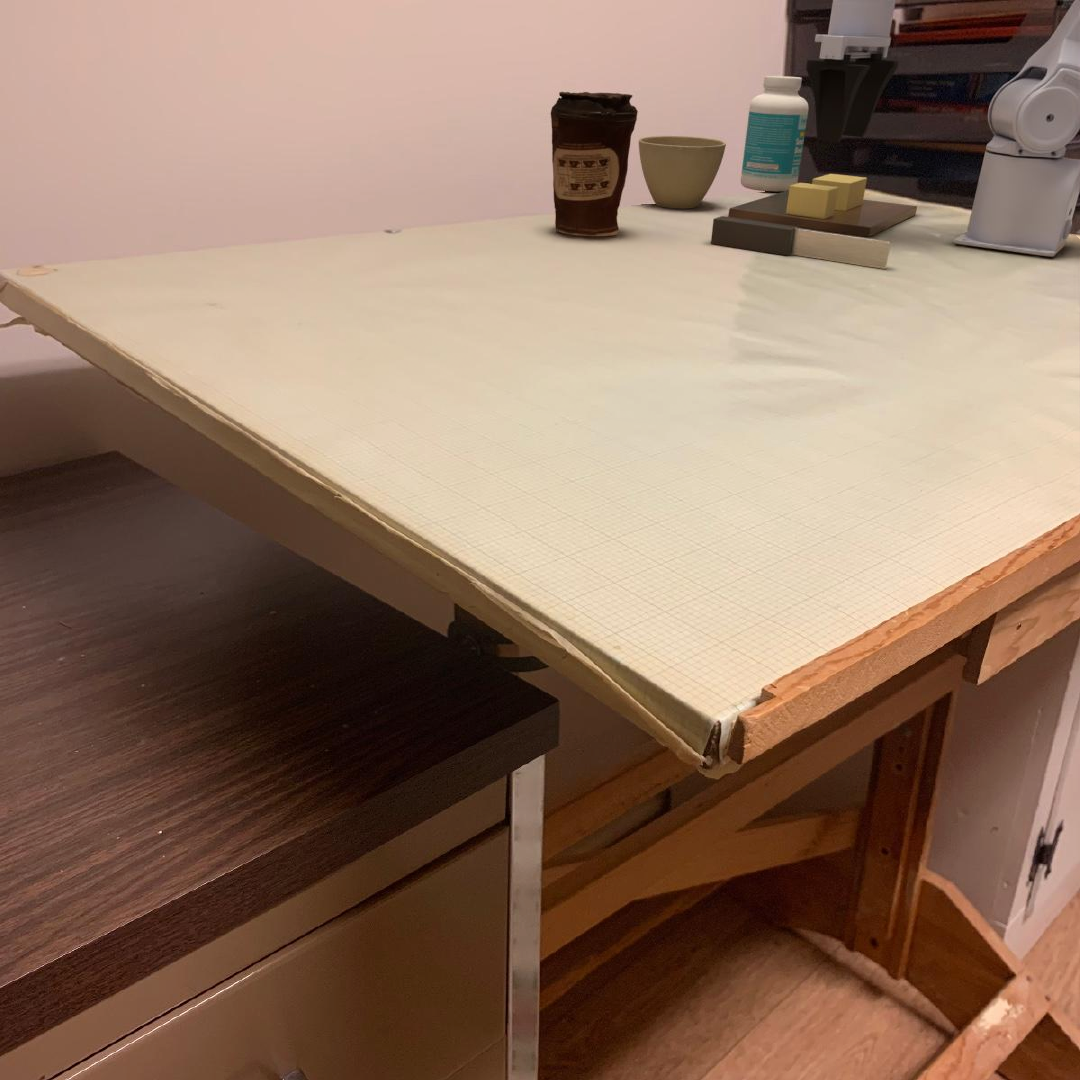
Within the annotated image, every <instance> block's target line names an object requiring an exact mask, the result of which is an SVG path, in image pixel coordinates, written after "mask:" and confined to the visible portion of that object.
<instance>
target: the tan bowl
mask: <svg viewBox="0 0 1080 1080" xmlns="http://www.w3.org/2000/svg"><path fill="white" fill-rule="evenodd" d="M726 146H727V142H726V141H723V140H720V139H718V138H717V139H716V138H710V137H704V136H703V137H701V136H700V137H699V136H689V135H651V136H650V135H649V136H643V137H640V138H639V139H638V152H639V153H638V154H639V158H640V159H639V160H640V166H641V171H642V174H643V177H644V178H643V179H644V181H645V183H646V186H647V190H648V191H649V192H648V193H650V196H651V198H652V200H653V203H654V205H656V206H658V207H663V208H667V209H694V208H696V207H698V206H699V205H700V204H701V202H702V201H703V200H704V198H705V196H706V195H707V194H708V192H709V190H710V189H711V187H712V185H713V183H714V181H715V179H716V177H717V174H718V171H719V169H720V167H721V164H722V161H723V158H724V155H725V150H726Z"/></svg>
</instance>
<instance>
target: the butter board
mask: <svg viewBox="0 0 1080 1080" xmlns="http://www.w3.org/2000/svg"><path fill="white" fill-rule="evenodd" d="M788 196H789V190H788V191H785V192H778V193H775V194H772V195H768V196H765V197H762V198H758V199H756V200H752V201H749V202H746V203H742V204H739V205H736V206H732V207H729V208H728V214H727V217H732V218H739V219H746V220H753V221H760V222H767V223H774V224H782V225H789V226H796V227H799V228H800V229H807V230H814V231H821V232H828V233H835V234H842V235H849V236H856V237H863V238H870V237H872V236H874V235H876V234H878V233H880V232H883V231H884V230H886V229H889V228H891V227H893V226H895V225H897V224H899V223H901V222H903V221H905V220H908V219H910V218H911V217H914V216H916V214H917V210H918V206H917V205H911V204H903V203H894V202H887V201H878V200H870V199H863V203H862V205H860V206H857V207H855V208H852V209H849V210H847V211H841V210H834V215H833V216H831V217H828V218H826V219H819V218H811V217H804V216H797V215H789V214H786V209H787V203H788Z"/></svg>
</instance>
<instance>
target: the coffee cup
mask: <svg viewBox="0 0 1080 1080" xmlns="http://www.w3.org/2000/svg"><path fill="white" fill-rule="evenodd" d="M558 96H559V97H558V98H557V100H556V103H554V105H552V106H551V109H550V123H551V146H552V148H551V155H552V156H551V161H552V177H553V178H552V187H553V188H552V189H553V205H554V210H555V212H554V214H555V215H554V216H555V218H554V219H555V221H554V226H555V227H554V228H555V231H556V232H559V233H562V234H567V235H574V236H586V237H609V236H617V235H618V234H619V230H620V229H619V223H618V214H619V208H620V206H621V201H622V195H623V191H624V189H625V186H626V180H627V176H628V171H629V170H628V167H629V157H630V156H629V155H630V148H631V141H632V135H633V132H634V131H635V126H636V123H637V120H638V113H639V112H638V109H637V108H636V106H634V105H632V103H631V99H632V98H633V95H632V94H629V93H628V94H627V93H619V92H589V91H583V92H570V91H560V92H559V93H558Z"/></svg>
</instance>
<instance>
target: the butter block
mask: <svg viewBox="0 0 1080 1080" xmlns="http://www.w3.org/2000/svg"><path fill="white" fill-rule="evenodd" d="M867 181H868V177H865V176H857V175H848V174H847V175H845V174H838V173H828V174H824V175H822V176H818V177H815V178H812V181H811V184H816V185H824V186H833V187H838V191H837V197H836V203H835V209H834V210H841V211H847V210H849V209H852V208H855V207H857V206H860V205H862V203H863V200H864V197H865V192H866V186H867Z"/></svg>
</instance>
